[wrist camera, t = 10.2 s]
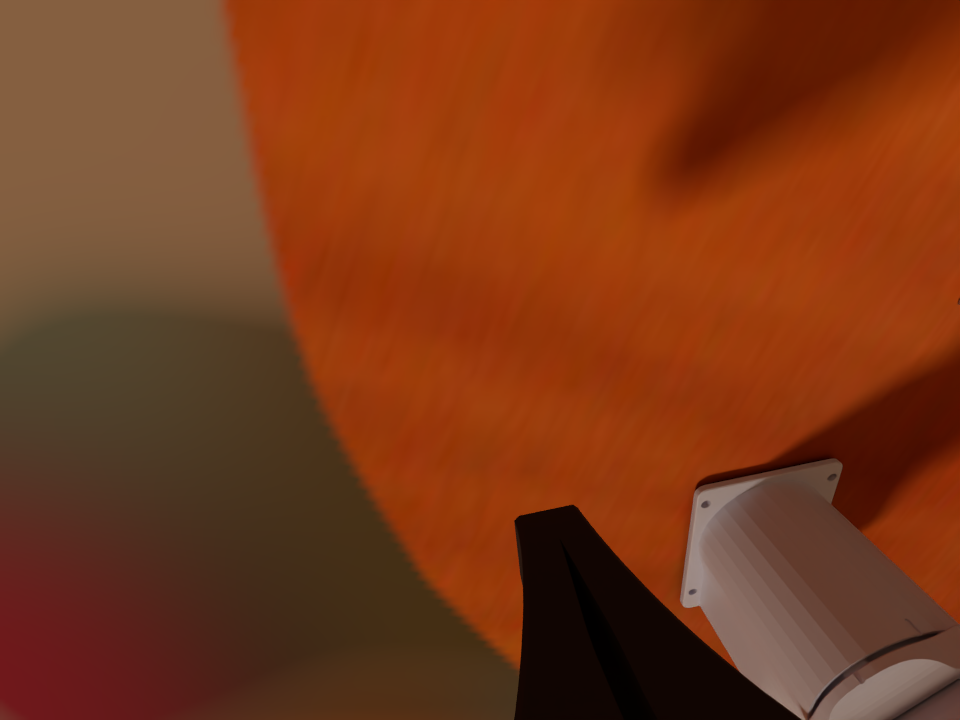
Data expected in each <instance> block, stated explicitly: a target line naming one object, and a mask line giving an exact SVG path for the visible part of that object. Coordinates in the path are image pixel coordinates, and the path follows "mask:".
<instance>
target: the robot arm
mask: <svg viewBox="0 0 960 720" xmlns="http://www.w3.org/2000/svg"><path fill="white" fill-rule="evenodd" d="M842 467H843V465H842V463H841V462H840V461H838V460H837V459H835V458H832V459H826V460H822V461H817V462H812V463H807V464H803V465H798V466H793V467H788V468H783V469H779V470H774V471H769V472H764V473H760V474H755V475H750V476H745V477H740V478H736V479H731V480H726V481H721V482H717V483H712V484H707V485H703V486H700V487H699V488H697V490H696V491H695V493H694V499H693V506H692V514H691V521H690V529H689V536H688V544H687V551H686V559H685V566H684V574H683V581H682V589H681V597H680V601H681V603H682V605H683V606H684V607H686V608H691V607H695V606H699V605H700V607H701V608H702V610H703V612H704V613H705V615H706V617H707V618H708V620H709V621H710V623H711V625H712V626H713V628H714V630H715V631H716V633H717V635H718V636H719V638H720V640H721V641H722V643H723V645H724V646H725V648H726V650H727V651H728V653H729V655H730V656H731V658H732V660H733V661H734V663H735V665H736V666H737V668H738V670H739V671H740V672H739V671H738V670H736V669H735V668H734V667H733V666H731V665H730V664H729V663H728V662H727V661H725V660H724V659H723V658H722V657H721V656H720V655H718V654H717V653H716V652H715V651H714V650H712V649H711V648H710V647H709V646H708V645H707V644H705V643H704V642H703V641H702V640H701V639H700V638H699V637H698V636H696V635H695V634H694V633H693V632H692V631H691V630H690V629H689V628H688V627H687V626H685V625H684V624H683V623H682V622H681V621H680V620H679V619H678V618H677V617H676V616H675V615H674V614H673V613H672V612H671V611H670V610H669V609H668V608H666V607H665V606H664V605H663V604H662V603H661V602H660V601H659V600H658V599H657V598H656V597H655V596H654V595H653V594H652V593H651V592H650V591H649V590H648V589H647V588H646V587H645V586H644V585H643V583H642V582H641V581H640V580H639V579H638V578H637V577H636V576H635V575H634V574H633V573H632V572H631V571H630V570H629V569H628V568H627V567H626V565H625V564H624V563H623V562H622V561H621V560H620V559H619V558H618V557H617V556H616V554H615V553H614V552H613V551H612V550H611V549H610V547H609V546H608V545H607V544H606V543H605V542H604V541H603V539H602V538H601V537H600V536H599V535H598V533H597V532H596V531H595V530H594V528H593V527H592V526H591V525H590V523H589V522H588V521H587V520H586V518H585V517H584V516H583V514H582V513H581V512H580V510H579V509H578V508H577V507H576V506H574V505H569V506H564V507H559V508H555V509H550V510H545V511H540V512H535V513H531V514H526V515H521V516H519V517H518V518H517V519H516V520H515V530H516V539H517V548H518V557H519V567H520V575H521V580H522V584H523V629H522V649H521V663H520V674H519V685H518V694H517V702H516V711H515V718H514V720H960V624H958V623H957V622H956V621H955V620H954V619H953V618H952V617H951V616H950V615H949V614H948V613H947V612H946V611H945V610H944V609H942V608H941V607H940V606H939V605H938V604H937V603H936V602H935V601H934V600H933V599H932V598H931V597H930V596H929V595H927V594H926V593H925V592H924V591H923V590H922V589H921V588H920V587H919V586H918V585H917V584H916V583H915V582H914V581H913V580H911V579H910V578H909V577H908V576H907V575H906V574H905V573H904V572H903V571H902V570H901V569H900V568H899V567H898V566H897V565H895V564H894V563H893V562H892V561H891V560H890V559H889V558H888V557H887V556H886V555H885V554H884V553H883V552H882V551H881V550H879V549H878V548H877V547H876V546H875V545H874V544H873V543H872V542H871V541H870V540H869V539H868V538H867V537H866V536H864V535H863V534H862V533H861V532H860V531H859V530H858V529H857V528H856V527H855V526H854V525H853V524H852V523H851V522H850V521H848V520H847V519H846V518H845V517H844V516H843V515H842V514H841V513H840V512H839V511H838V510H837V509H836V508H835V507H834V506H832V505H831V503H832V499H833V496H834V493H835V490H836V487H837V484H838V481H839V477H840V474H841V471H842Z"/></svg>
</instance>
